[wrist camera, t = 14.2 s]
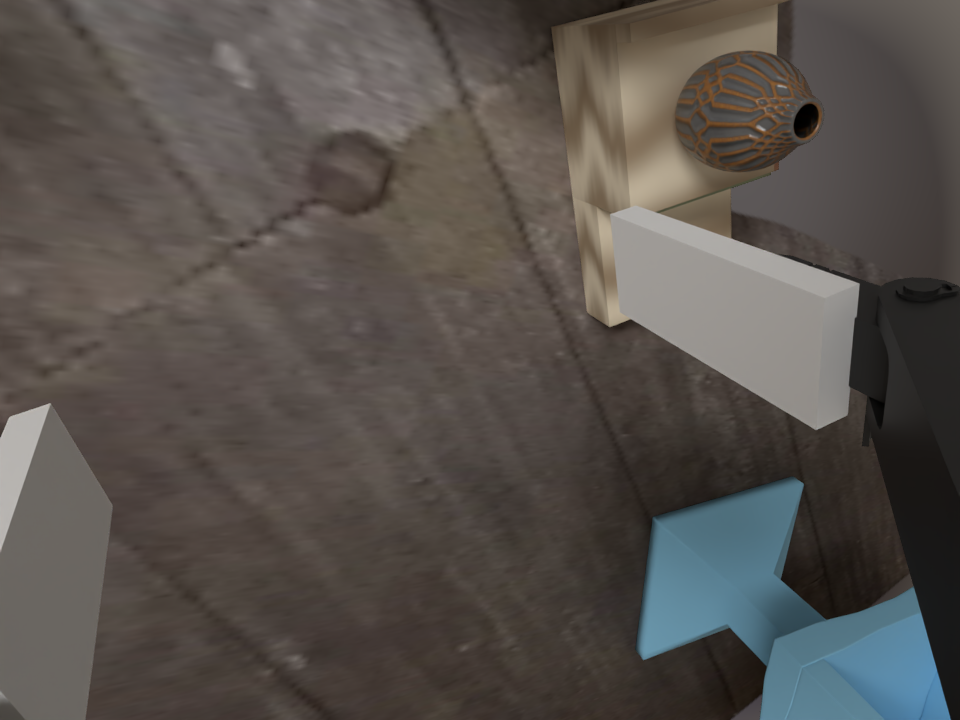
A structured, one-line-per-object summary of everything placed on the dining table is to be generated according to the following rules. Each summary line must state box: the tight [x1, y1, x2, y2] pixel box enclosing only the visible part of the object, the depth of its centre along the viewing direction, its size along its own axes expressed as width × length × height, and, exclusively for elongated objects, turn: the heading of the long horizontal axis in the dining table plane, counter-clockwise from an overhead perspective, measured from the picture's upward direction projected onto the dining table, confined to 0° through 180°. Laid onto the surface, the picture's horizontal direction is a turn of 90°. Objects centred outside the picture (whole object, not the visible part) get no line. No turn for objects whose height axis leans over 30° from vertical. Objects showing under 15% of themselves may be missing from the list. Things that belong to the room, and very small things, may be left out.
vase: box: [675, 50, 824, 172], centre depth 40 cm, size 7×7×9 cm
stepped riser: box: [551, 0, 790, 327], centre depth 49 cm, size 22×12×10 cm, turn 12°
